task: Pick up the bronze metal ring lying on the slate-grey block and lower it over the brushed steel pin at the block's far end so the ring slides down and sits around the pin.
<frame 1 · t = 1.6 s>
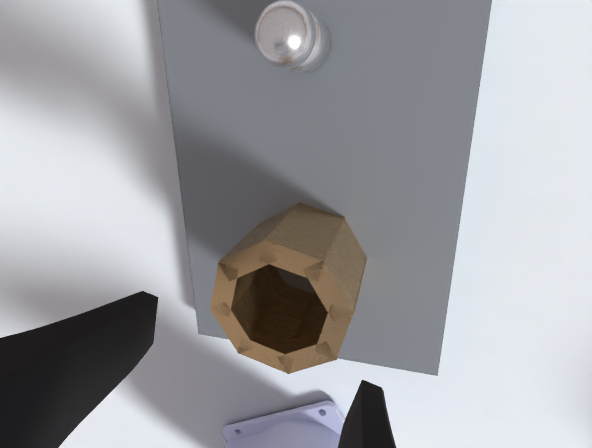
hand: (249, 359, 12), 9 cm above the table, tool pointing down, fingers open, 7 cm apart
bronze ring: (307, 258, 19), point 1 cm above the table, touching slate block
slate block: (314, 175, 19), on the table
steel pin: (306, 44, 16), resting on slate block
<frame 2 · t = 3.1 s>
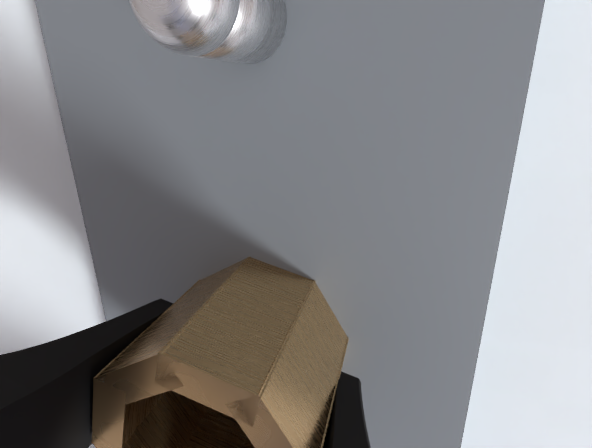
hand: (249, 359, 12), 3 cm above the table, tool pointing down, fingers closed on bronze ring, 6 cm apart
bronze ring: (264, 333, 13), point 1 cm above the table, touching gripper, slate block
slate block: (273, 214, 13), on the table
steel pin: (247, 19, 10), resting on slate block
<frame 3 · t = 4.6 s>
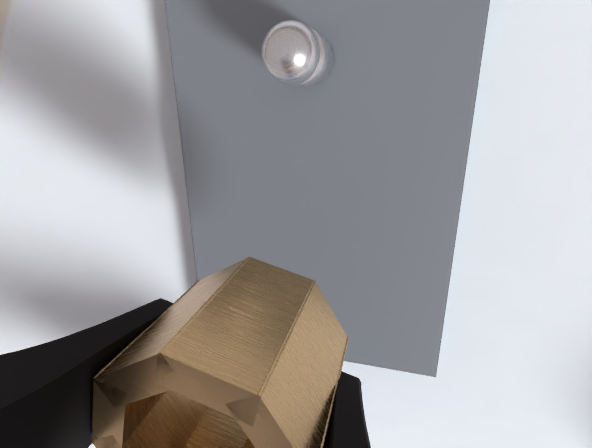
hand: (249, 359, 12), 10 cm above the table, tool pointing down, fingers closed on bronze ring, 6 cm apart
bronze ring: (264, 333, 13), point 9 cm above the table, touching gripper
slate block: (316, 183, 20), on the table
steel pin: (310, 59, 17), resting on slate block
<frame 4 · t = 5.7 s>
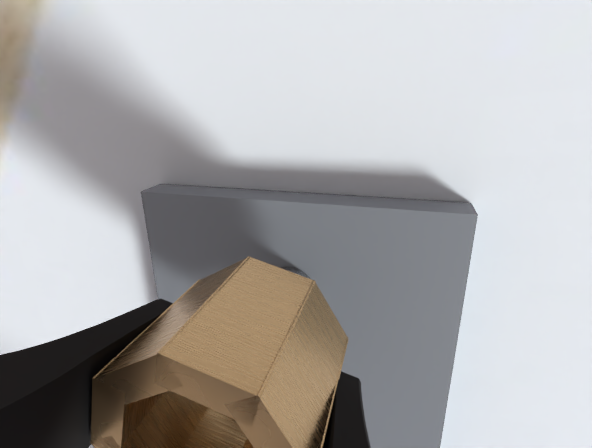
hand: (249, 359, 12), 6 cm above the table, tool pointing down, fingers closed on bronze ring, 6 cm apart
bronze ring: (264, 333, 13), point 5 cm above the table, touching gripper
slate block: (300, 374, 20), on the table
when the fingers open (5 cm above the table, at t = 6.5 s): bronze ring drops 2 cm, resting on slate block.
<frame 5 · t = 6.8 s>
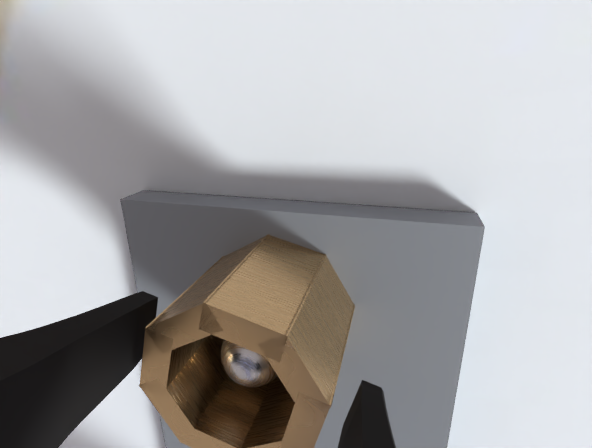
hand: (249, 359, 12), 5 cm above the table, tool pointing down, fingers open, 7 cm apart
bronze ring: (280, 303, 15), point 1 cm above the table, touching slate block
slate block: (294, 392, 19), on the table
steel pin: (281, 304, 15), resting on slate block
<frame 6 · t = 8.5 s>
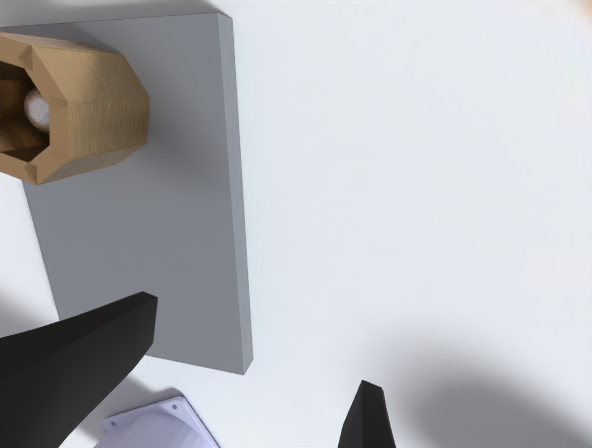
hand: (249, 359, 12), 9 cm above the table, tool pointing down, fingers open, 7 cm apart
bronze ring: (102, 106, 20), point 1 cm above the table, touching slate block
slate block: (139, 207, 23), on the table
steel pin: (103, 107, 20), resting on slate block
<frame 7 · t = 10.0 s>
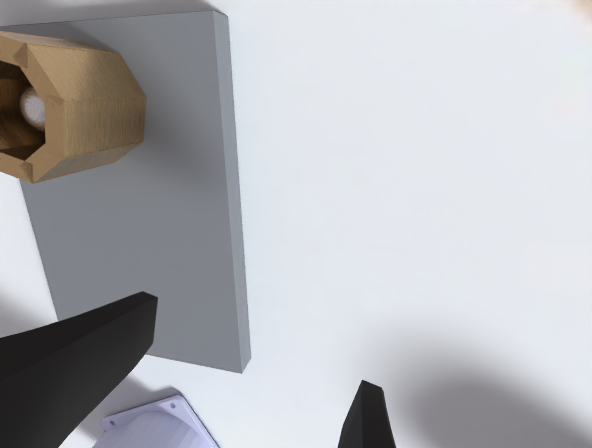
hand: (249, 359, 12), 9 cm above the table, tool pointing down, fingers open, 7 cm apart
bronze ring: (98, 105, 20), point 1 cm above the table, touching slate block
slate block: (136, 206, 23), on the table
steel pin: (99, 105, 20), resting on slate block
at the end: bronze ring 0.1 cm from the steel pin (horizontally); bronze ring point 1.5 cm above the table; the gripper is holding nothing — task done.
